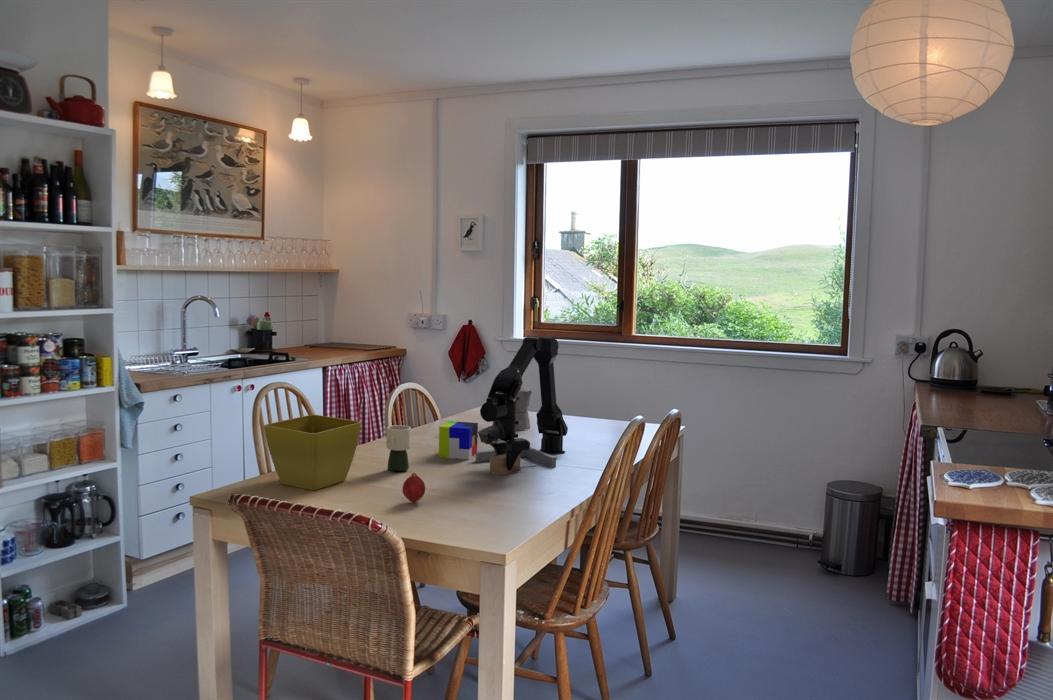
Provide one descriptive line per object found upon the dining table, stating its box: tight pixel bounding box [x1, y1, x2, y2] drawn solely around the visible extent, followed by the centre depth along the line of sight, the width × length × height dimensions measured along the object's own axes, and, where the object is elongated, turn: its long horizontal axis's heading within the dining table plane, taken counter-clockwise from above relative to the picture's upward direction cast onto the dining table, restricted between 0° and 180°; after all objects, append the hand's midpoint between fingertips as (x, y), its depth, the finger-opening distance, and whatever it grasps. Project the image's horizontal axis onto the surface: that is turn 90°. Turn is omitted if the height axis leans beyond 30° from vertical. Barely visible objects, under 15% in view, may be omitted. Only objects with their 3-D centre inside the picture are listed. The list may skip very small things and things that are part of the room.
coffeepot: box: [516, 386, 533, 431], centre depth 299 cm, size 15×9×18 cm, turn 44°
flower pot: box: [263, 414, 362, 491], centre depth 216 cm, size 19×19×17 cm
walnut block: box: [489, 454, 522, 476], centre depth 234 cm, size 8×4×5 cm, turn 127°
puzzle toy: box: [438, 420, 479, 460], centre depth 253 cm, size 10×10×10 cm
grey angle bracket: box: [475, 446, 557, 468], centre depth 244 cm, size 19×17×3 cm
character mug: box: [385, 424, 412, 473], centre depth 232 cm, size 11×7×13 cm, turn 168°
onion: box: [402, 472, 426, 504], centre depth 200 cm, size 6×6×8 cm
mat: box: [520, 458, 537, 469], centre depth 244 cm, size 7×10×1 cm
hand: (505, 468), depth 234 cm, fingers closed on walnut block, 5 cm apart
